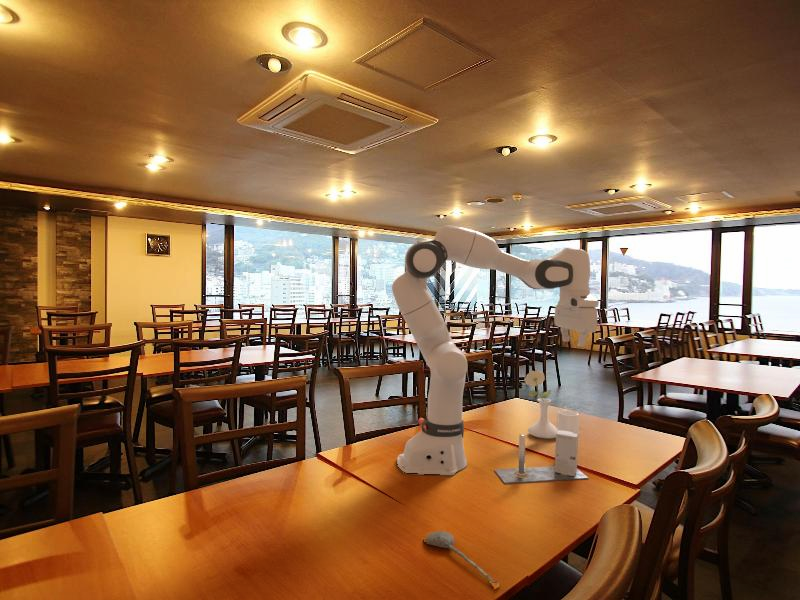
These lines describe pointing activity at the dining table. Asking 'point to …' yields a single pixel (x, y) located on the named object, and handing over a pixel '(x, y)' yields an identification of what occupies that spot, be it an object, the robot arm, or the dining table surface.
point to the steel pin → (521, 456)
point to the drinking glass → (568, 421)
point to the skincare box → (566, 452)
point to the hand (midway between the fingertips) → (573, 343)
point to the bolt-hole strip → (536, 475)
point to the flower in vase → (542, 425)
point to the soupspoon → (447, 542)
